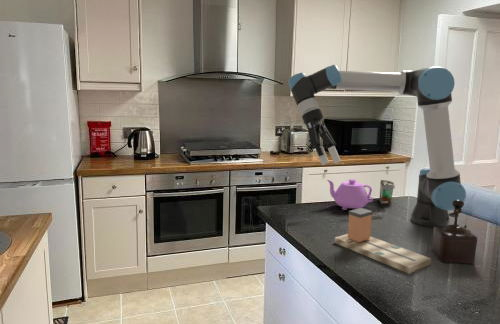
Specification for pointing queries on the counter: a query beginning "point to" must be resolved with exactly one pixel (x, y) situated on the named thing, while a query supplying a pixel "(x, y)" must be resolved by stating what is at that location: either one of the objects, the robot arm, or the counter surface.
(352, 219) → the fader knob
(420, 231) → the counter surface
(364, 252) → the fader board
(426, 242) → the counter surface
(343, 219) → the counter surface
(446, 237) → the coffee grinder
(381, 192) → the food container
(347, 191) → the teapot
